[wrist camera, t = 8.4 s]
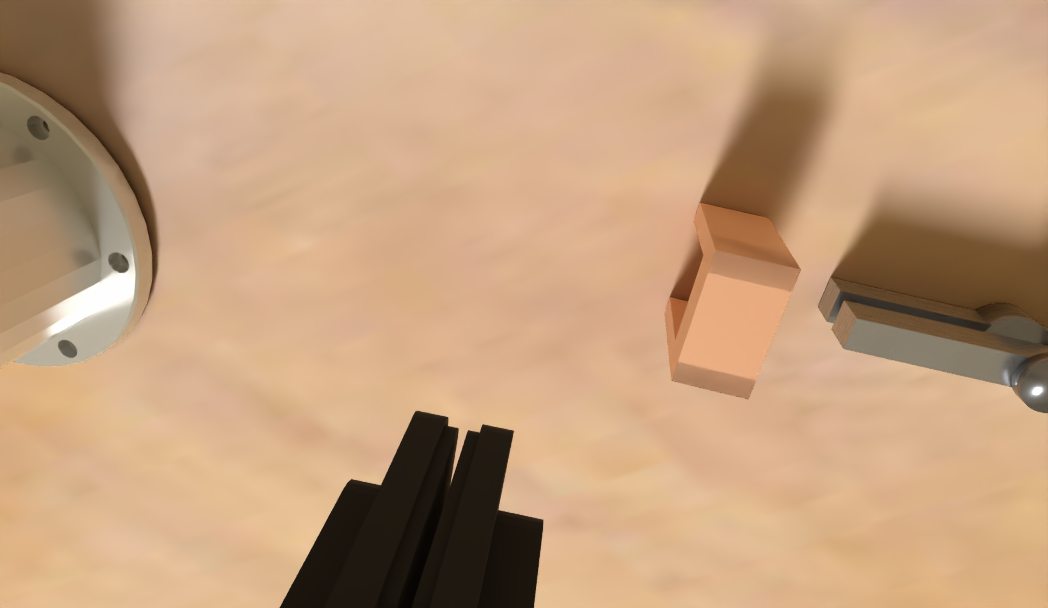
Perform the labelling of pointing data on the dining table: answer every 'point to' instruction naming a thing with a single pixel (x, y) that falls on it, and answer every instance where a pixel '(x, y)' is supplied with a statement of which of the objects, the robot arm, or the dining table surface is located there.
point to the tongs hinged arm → (947, 349)
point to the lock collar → (730, 302)
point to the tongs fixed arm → (935, 311)
